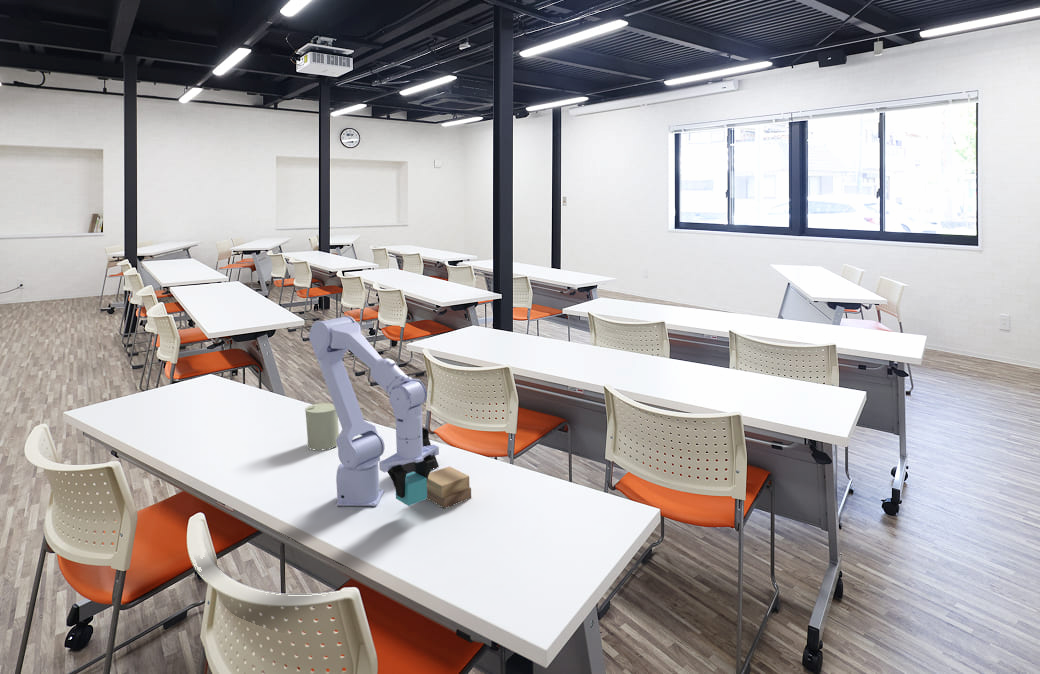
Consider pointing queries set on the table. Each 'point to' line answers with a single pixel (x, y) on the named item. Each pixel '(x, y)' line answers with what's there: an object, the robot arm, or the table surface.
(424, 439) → the phone stand
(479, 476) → the table surface
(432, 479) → the tower top
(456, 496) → the tower base
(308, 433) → the can
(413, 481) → the teal cube
